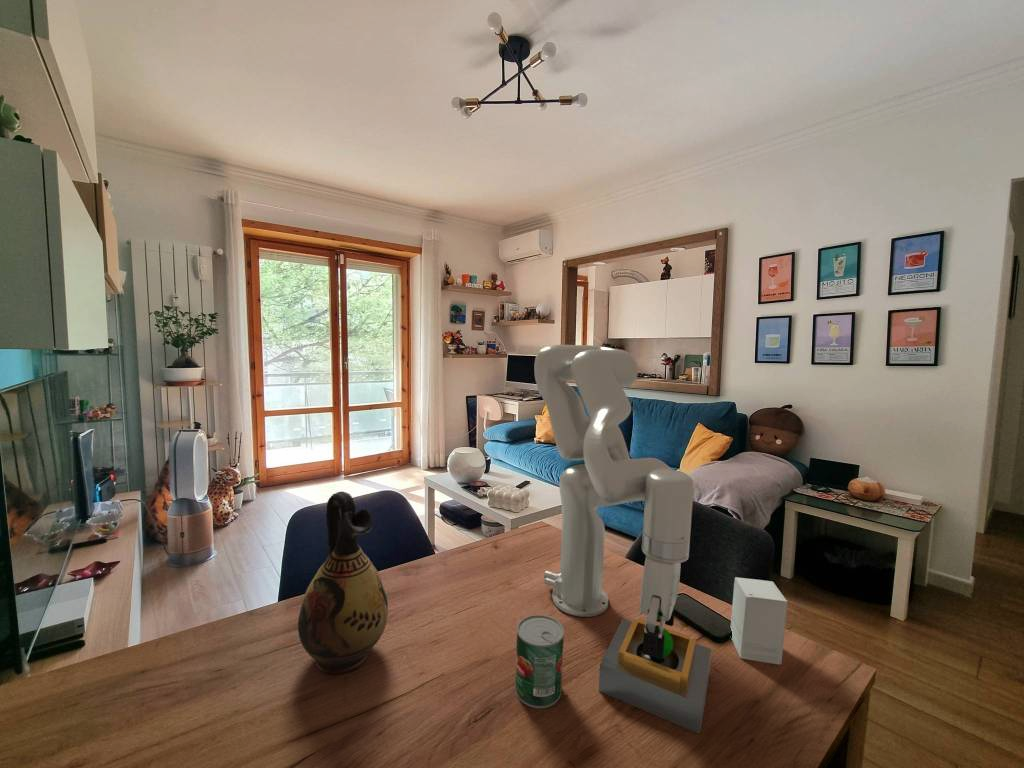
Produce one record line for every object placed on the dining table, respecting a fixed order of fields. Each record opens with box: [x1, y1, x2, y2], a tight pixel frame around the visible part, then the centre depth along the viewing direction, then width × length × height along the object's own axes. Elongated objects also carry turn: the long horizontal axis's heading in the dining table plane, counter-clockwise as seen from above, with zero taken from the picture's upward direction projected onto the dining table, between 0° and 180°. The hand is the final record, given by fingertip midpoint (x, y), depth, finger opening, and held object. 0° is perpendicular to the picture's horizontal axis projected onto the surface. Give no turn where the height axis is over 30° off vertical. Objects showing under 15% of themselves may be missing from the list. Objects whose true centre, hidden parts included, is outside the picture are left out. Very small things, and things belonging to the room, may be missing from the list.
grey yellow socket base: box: [598, 618, 712, 735], centre depth 78 cm, size 16×17×7 cm
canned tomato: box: [514, 614, 565, 709], centre depth 75 cm, size 8×8×11 cm
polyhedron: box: [643, 624, 673, 658], centre depth 77 cm, size 5×5×5 cm
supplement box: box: [730, 576, 788, 665], centre depth 86 cm, size 7×7×13 cm
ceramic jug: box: [297, 491, 389, 676], centre depth 81 cm, size 17×15×30 cm
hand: (658, 638), depth 77 cm, fingers open, 9 cm apart
